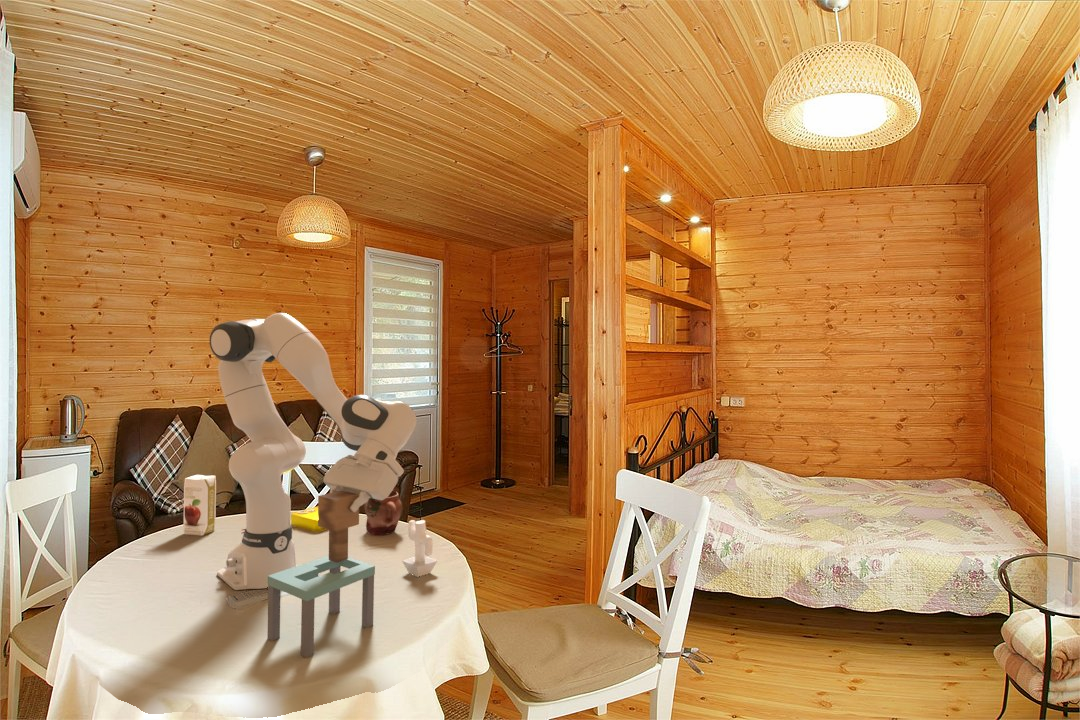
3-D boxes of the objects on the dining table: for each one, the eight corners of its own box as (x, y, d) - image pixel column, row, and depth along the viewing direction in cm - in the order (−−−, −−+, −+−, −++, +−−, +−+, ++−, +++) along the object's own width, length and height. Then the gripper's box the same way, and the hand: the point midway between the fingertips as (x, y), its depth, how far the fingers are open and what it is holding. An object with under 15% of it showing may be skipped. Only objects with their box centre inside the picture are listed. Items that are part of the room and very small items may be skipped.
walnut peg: (317, 560, 136) (318, 495, 136) (340, 552, 141) (341, 490, 141) (335, 566, 132) (336, 500, 132) (358, 558, 138) (359, 494, 137)
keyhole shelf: (335, 609, 145) (336, 552, 145) (373, 625, 138) (374, 565, 137) (266, 638, 130) (267, 575, 130) (305, 658, 122) (307, 591, 122)
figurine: (419, 581, 164) (420, 527, 163) (399, 572, 170) (400, 520, 170) (439, 574, 169) (441, 522, 169) (419, 565, 175) (420, 515, 175)
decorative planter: (413, 537, 201) (414, 496, 200) (381, 544, 193) (381, 502, 192) (385, 522, 216) (386, 485, 215) (354, 529, 207) (354, 489, 207)
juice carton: (196, 528, 204) (196, 473, 203) (218, 529, 203) (219, 475, 202) (179, 535, 196) (180, 478, 196) (203, 536, 195) (204, 479, 195)
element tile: (317, 533, 203) (317, 519, 203) (288, 525, 210) (288, 512, 210) (350, 522, 216) (350, 509, 216) (322, 515, 223) (322, 503, 223)
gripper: (338, 446, 149) (303, 493, 141) (395, 456, 137) (361, 507, 129) (352, 461, 152) (319, 507, 144) (409, 472, 141) (376, 522, 133)
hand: (339, 507), depth 137 cm, fingers closed on walnut peg, 6 cm apart
